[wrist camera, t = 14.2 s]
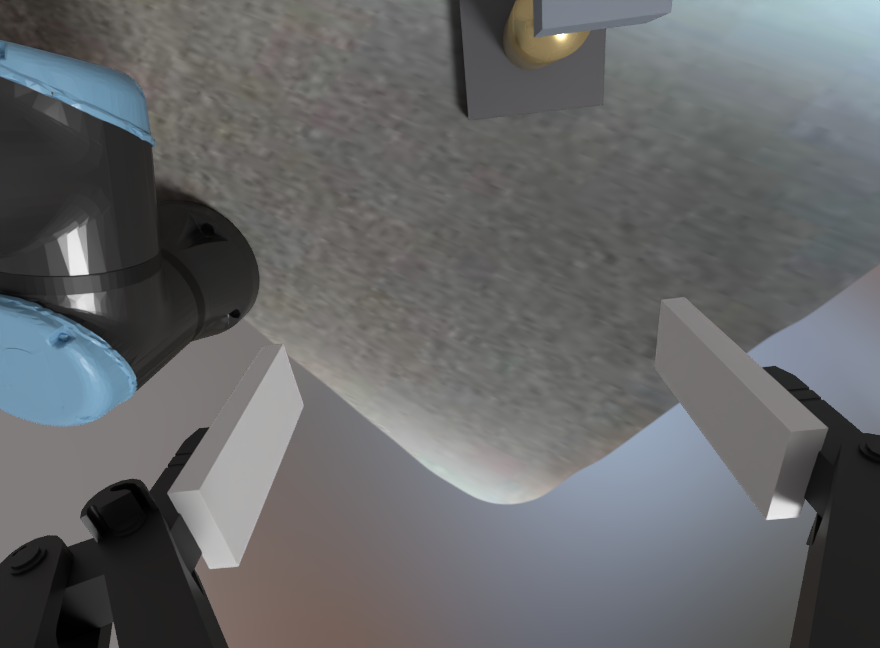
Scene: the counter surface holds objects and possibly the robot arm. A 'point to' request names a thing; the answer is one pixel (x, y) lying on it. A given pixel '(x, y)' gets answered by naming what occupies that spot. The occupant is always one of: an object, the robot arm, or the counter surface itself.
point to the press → (555, 85)
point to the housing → (535, 40)
